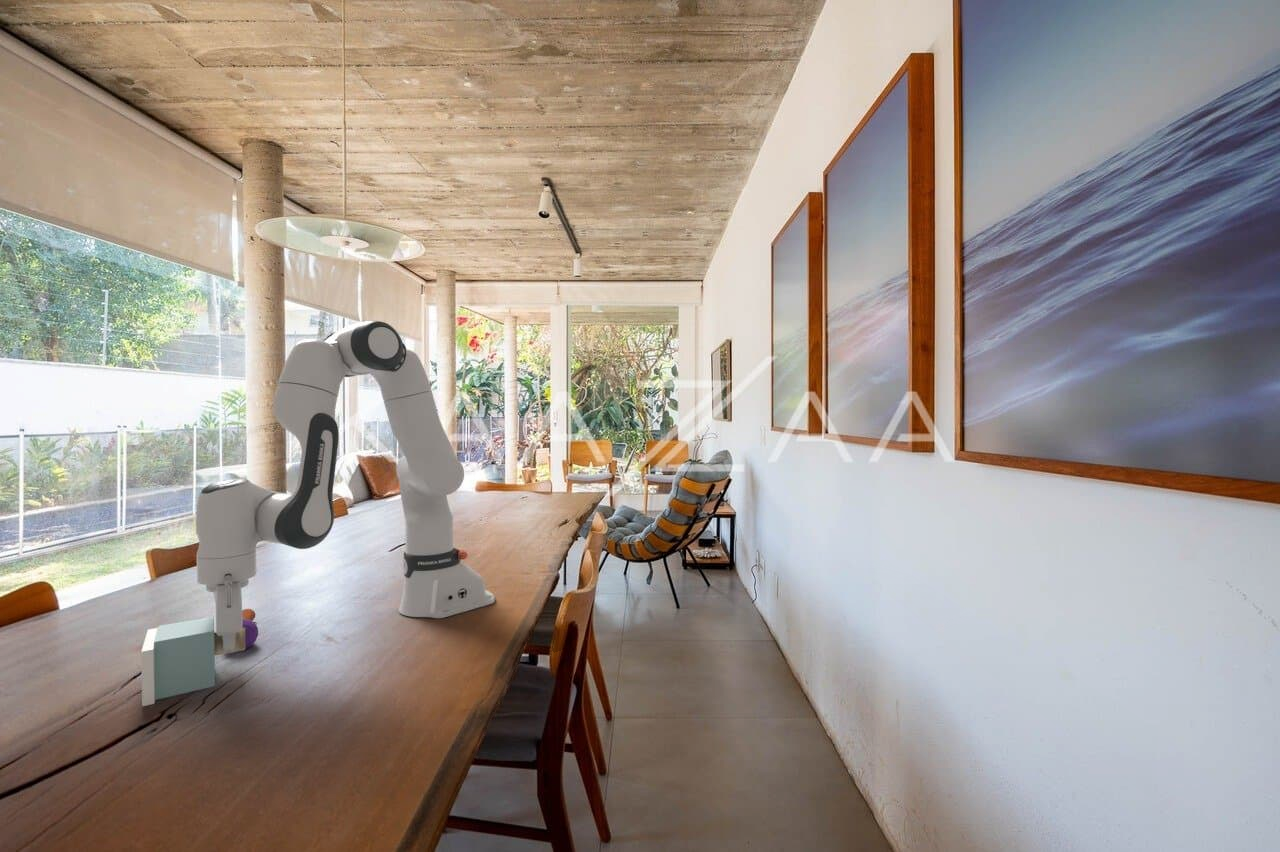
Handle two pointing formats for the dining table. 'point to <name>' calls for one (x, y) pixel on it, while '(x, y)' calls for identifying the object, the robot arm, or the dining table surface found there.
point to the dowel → (238, 643)
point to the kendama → (249, 627)
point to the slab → (148, 668)
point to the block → (184, 657)
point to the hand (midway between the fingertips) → (228, 643)
